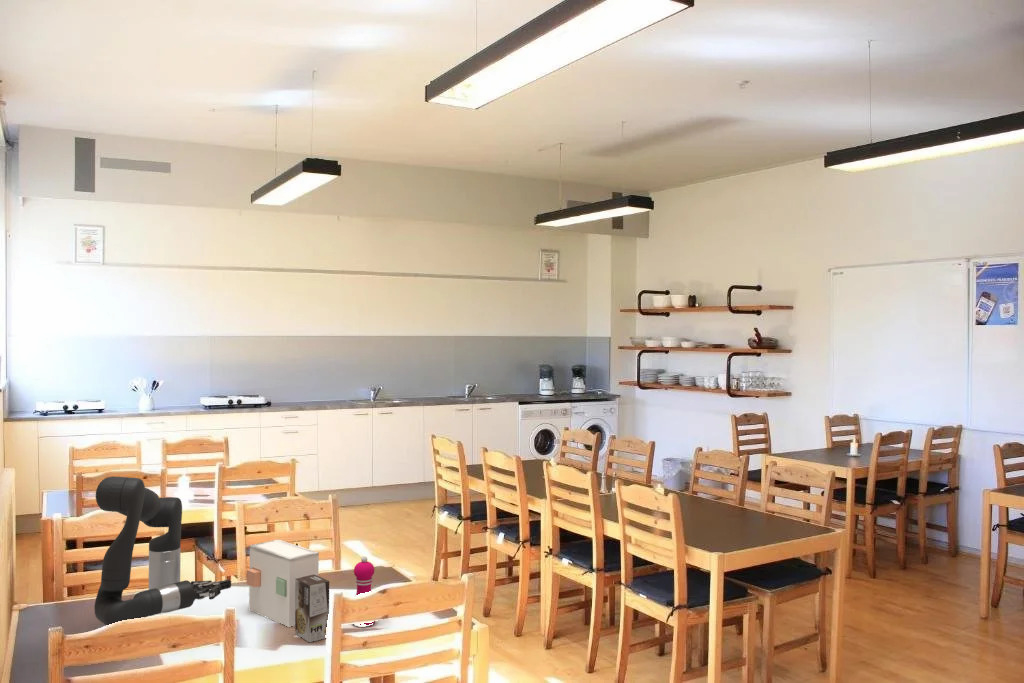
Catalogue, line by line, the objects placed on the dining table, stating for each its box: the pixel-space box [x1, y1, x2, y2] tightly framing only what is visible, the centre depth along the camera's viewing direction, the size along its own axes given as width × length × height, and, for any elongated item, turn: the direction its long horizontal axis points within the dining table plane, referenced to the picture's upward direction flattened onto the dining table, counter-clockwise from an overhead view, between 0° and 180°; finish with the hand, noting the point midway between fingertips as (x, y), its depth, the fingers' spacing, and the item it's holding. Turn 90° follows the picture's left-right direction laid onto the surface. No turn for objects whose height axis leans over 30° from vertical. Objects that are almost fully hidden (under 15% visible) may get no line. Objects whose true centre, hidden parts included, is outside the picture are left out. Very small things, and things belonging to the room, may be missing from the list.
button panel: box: [248, 539, 320, 628], centre depth 249 cm, size 22×10×20 cm, turn 48°
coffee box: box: [294, 574, 331, 643], centre depth 232 cm, size 9×6×16 cm
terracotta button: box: [246, 568, 261, 587], centre depth 250 cm, size 4×4×4 cm
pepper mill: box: [353, 556, 375, 625], centre depth 242 cm, size 7×7×20 cm
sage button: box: [276, 578, 287, 597], centre depth 242 cm, size 4×4×4 cm
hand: (229, 583), depth 243 cm, fingers closed
